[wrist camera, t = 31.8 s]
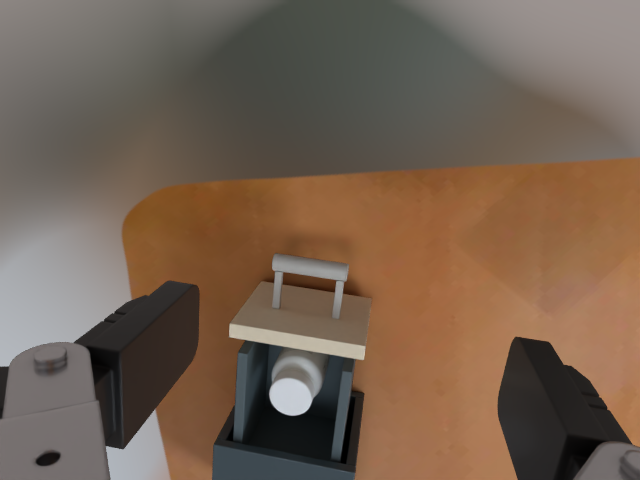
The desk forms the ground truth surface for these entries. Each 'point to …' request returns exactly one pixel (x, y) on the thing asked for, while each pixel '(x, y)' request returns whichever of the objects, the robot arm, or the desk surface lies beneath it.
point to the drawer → (306, 334)
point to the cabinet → (285, 455)
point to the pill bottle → (297, 379)
